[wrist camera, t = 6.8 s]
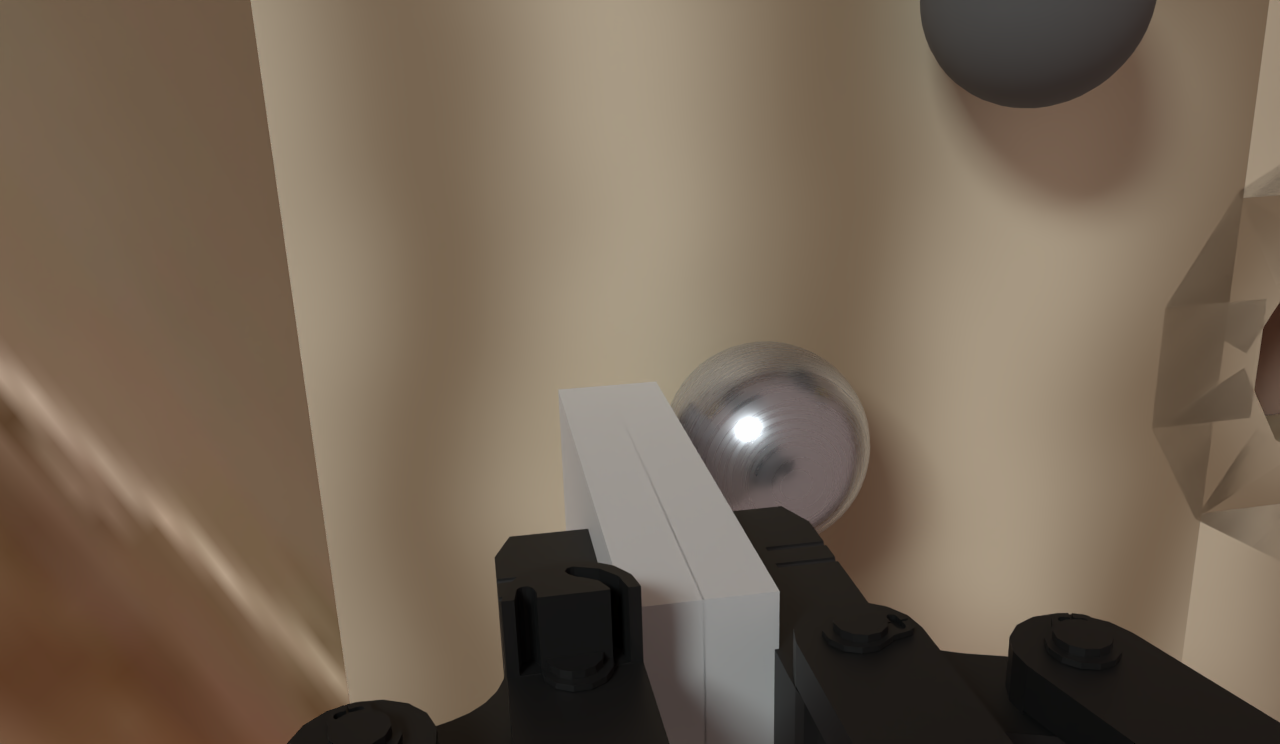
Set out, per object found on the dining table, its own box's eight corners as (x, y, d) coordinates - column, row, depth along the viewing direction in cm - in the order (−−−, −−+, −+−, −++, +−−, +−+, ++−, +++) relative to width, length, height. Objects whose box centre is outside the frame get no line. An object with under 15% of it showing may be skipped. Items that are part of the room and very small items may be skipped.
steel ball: (649, 505, 19) (689, 598, 16) (643, 326, 18) (682, 388, 15) (828, 486, 19) (899, 572, 16) (831, 310, 18) (907, 367, 15)
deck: (384, 809, 23) (378, 900, 20) (256, -145, 17) (226, -170, 15) (1480, 650, 27) (1581, 711, 24) (1670, -172, 21) (1823, -195, 19)
